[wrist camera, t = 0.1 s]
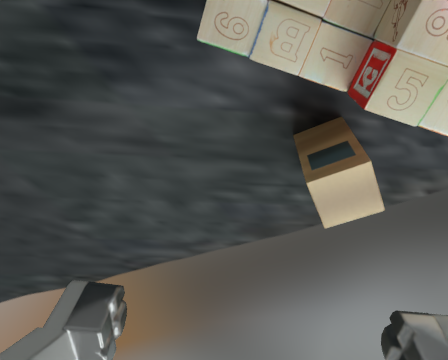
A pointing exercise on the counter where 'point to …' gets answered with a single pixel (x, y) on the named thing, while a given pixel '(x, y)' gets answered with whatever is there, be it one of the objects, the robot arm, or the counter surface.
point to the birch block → (338, 173)
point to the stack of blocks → (347, 49)
